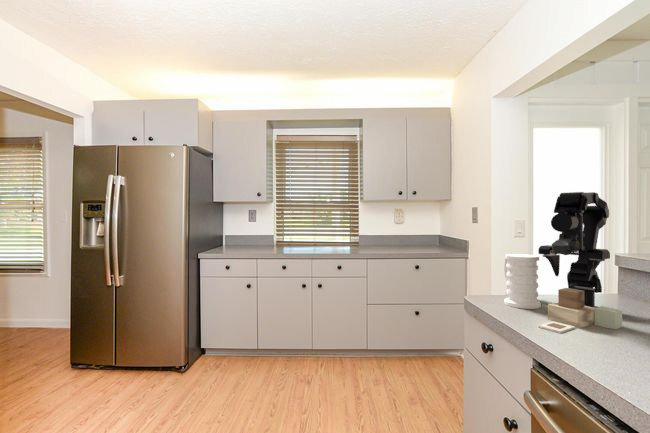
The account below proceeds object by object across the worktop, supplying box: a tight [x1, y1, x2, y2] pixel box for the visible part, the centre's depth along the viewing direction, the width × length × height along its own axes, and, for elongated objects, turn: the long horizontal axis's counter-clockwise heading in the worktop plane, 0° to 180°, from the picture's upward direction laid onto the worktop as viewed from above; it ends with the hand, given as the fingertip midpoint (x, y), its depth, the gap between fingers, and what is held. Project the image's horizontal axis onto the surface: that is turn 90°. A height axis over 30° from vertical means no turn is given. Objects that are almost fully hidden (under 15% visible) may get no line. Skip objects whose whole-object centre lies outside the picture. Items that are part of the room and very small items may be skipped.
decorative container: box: [504, 253, 542, 310], centre depth 129 cm, size 12×12×18 cm
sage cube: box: [594, 305, 623, 330], centre depth 105 cm, size 5×5×5 cm
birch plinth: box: [547, 302, 595, 329], centre depth 109 cm, size 9×9×5 cm
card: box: [538, 320, 576, 334], centre depth 103 cm, size 8×6×1 cm
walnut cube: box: [557, 287, 584, 309], centre depth 109 cm, size 5×5×5 cm
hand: (572, 278), depth 115 cm, fingers open, 9 cm apart
